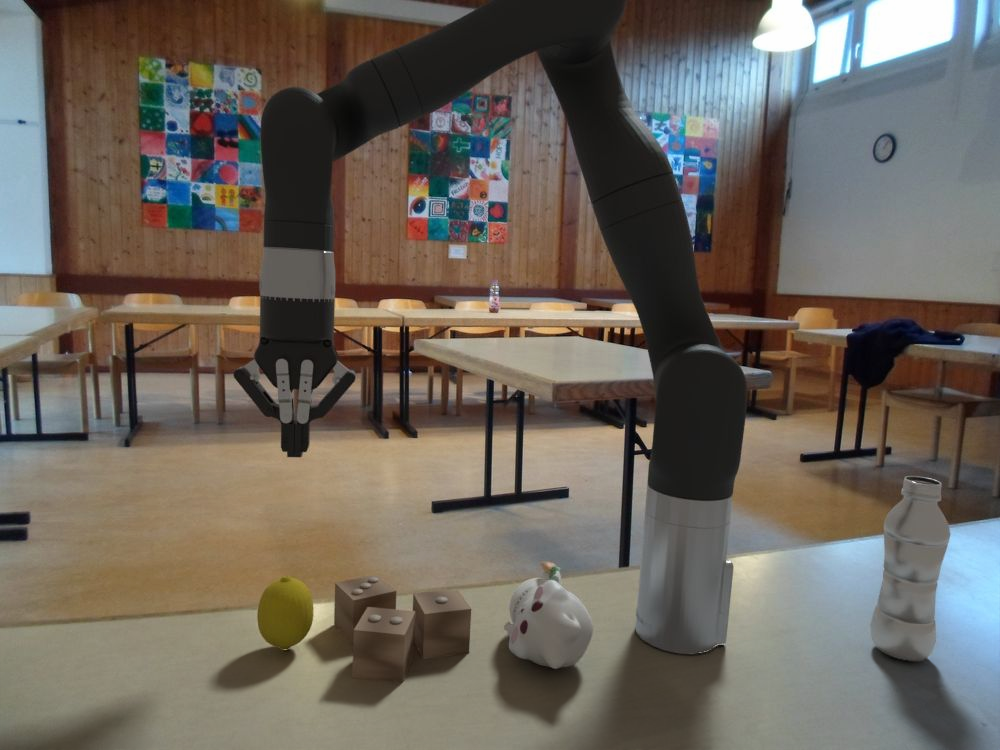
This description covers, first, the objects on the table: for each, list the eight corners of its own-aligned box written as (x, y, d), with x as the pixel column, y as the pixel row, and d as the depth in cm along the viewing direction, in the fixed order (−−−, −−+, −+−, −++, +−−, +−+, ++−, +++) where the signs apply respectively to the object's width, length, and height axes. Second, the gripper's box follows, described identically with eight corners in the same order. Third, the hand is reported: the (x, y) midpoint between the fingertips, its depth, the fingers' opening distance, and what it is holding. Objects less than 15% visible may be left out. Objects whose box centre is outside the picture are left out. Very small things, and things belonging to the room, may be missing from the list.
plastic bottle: (929, 648, 83) (952, 478, 80) (936, 676, 77) (962, 493, 74) (866, 634, 85) (887, 469, 83) (868, 659, 79) (891, 482, 77)
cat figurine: (528, 541, 83) (562, 580, 69) (584, 576, 85) (629, 621, 70) (483, 613, 83) (508, 668, 68) (541, 647, 84) (577, 708, 69)
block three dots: (375, 615, 83) (376, 572, 83) (394, 633, 79) (396, 588, 79) (334, 625, 81) (335, 581, 80) (352, 645, 77) (353, 598, 76)
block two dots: (413, 656, 75) (415, 609, 74) (402, 683, 70) (404, 632, 69) (366, 652, 75) (367, 605, 75) (352, 678, 70) (353, 627, 70)
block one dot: (455, 631, 81) (457, 587, 80) (469, 653, 76) (471, 606, 75) (411, 636, 79) (413, 591, 78) (422, 660, 74) (424, 612, 74)
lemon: (297, 667, 71) (298, 590, 70) (246, 659, 73) (246, 583, 71) (321, 641, 77) (323, 569, 76) (274, 633, 78) (275, 562, 77)
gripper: (363, 296, 80) (358, 448, 83) (238, 289, 78) (237, 446, 80) (361, 298, 73) (356, 465, 75) (224, 291, 71) (223, 464, 73)
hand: (294, 455), depth 78 cm, fingers closed
